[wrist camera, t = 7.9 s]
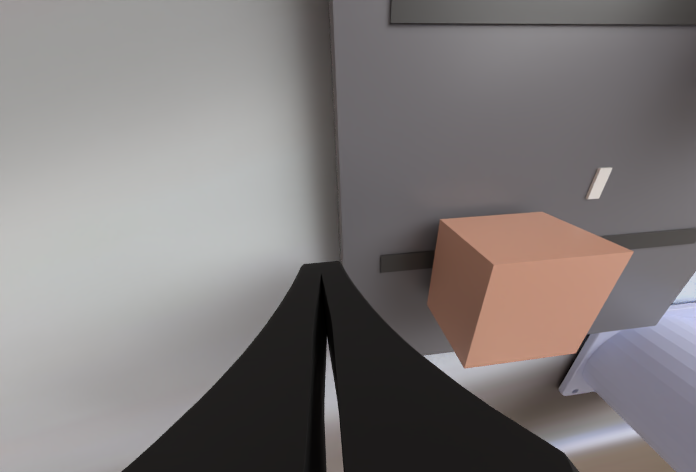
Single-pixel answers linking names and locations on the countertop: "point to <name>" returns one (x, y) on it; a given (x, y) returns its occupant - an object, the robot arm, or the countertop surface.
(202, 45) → the countertop surface
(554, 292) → the block
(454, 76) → the fader panel
